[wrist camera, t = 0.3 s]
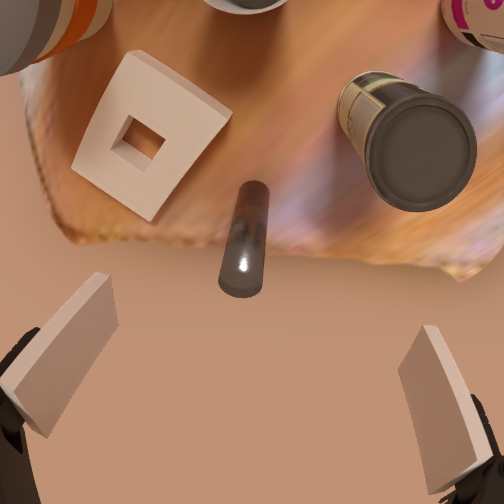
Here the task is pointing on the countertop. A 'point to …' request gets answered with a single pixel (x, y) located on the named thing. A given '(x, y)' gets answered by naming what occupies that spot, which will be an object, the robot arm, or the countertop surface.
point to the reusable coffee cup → (45, 28)
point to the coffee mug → (245, 5)
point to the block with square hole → (157, 119)
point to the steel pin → (246, 242)
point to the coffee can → (407, 140)
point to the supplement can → (476, 22)
